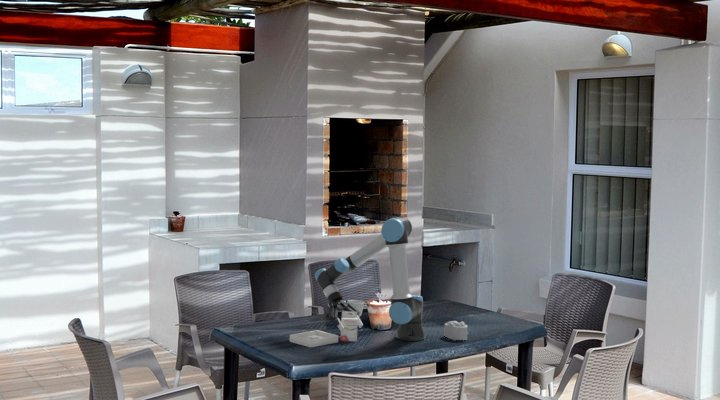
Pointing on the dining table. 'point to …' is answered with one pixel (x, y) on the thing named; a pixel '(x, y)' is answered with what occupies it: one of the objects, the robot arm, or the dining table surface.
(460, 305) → the dining table surface
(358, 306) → the teacup
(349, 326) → the ink cartridge box
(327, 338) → the tray
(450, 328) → the lumpy-topped squat cylinder
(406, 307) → the robot arm
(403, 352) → the dining table surface
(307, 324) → the dining table surface
